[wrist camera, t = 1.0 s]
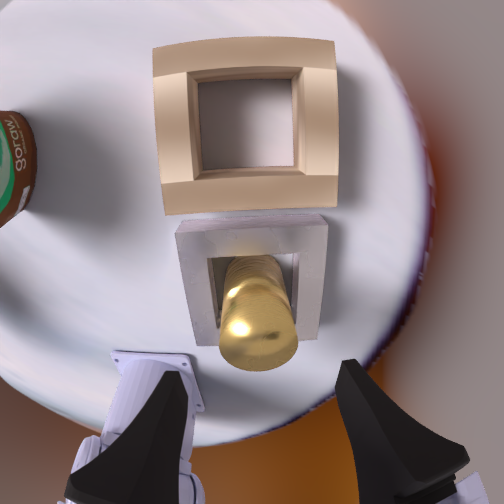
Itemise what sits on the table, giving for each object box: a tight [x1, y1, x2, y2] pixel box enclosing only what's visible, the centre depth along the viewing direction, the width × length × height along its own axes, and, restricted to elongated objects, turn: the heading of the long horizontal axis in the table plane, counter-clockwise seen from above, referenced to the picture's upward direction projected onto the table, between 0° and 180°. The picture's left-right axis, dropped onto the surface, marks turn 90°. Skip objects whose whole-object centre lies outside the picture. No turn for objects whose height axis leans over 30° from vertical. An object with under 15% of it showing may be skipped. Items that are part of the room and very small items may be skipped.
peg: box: [219, 255, 298, 371], centre depth 16 cm, size 4×4×7 cm
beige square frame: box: [153, 37, 339, 216], centre depth 14 cm, size 9×9×4 cm
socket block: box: [175, 214, 328, 346], centre depth 19 cm, size 9×9×2 cm
